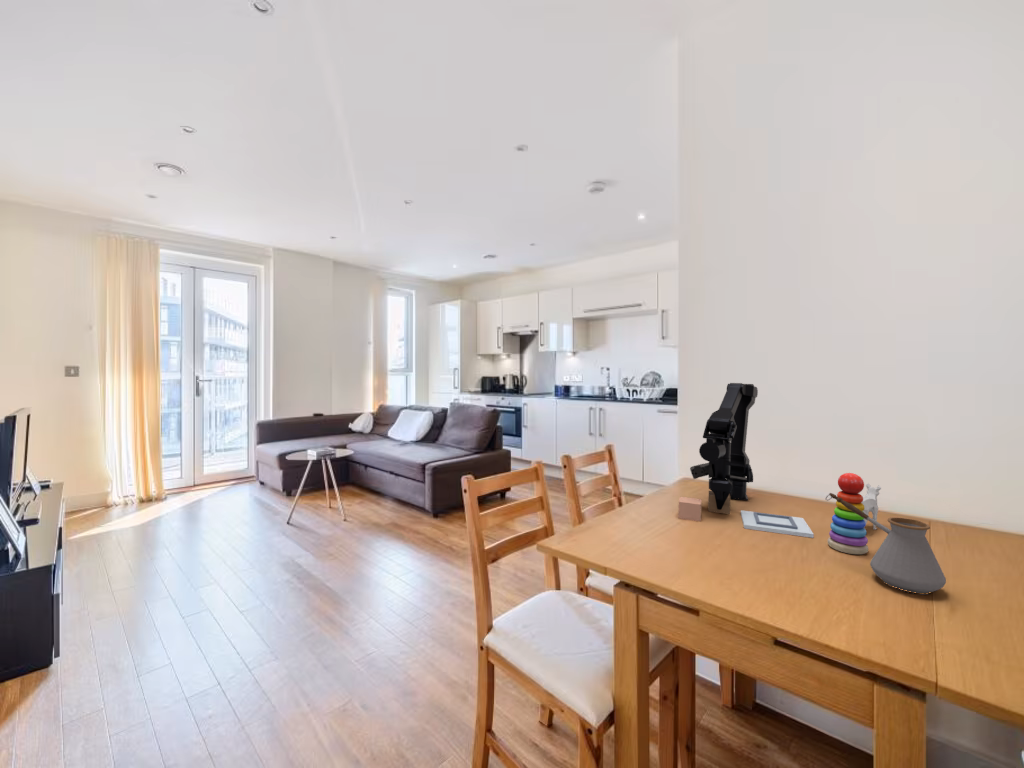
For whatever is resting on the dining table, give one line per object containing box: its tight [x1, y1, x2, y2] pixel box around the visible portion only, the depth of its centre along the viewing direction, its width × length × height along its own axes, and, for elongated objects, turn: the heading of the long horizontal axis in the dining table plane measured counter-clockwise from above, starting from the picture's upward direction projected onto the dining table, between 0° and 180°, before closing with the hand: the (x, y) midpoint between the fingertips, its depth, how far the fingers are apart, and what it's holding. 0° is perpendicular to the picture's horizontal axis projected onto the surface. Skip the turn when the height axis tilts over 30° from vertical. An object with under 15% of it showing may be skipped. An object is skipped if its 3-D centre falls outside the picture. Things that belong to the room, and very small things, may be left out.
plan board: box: [740, 510, 815, 539], centre depth 124 cm, size 14×16×2 cm
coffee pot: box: [825, 492, 947, 593], centre depth 93 cm, size 21×12×15 cm, turn 23°
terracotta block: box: [677, 496, 702, 522], centre depth 130 cm, size 6×6×5 cm
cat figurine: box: [861, 482, 882, 531], centre depth 120 cm, size 4×20×14 cm, turn 124°
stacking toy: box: [827, 472, 869, 555], centre depth 107 cm, size 8×8×19 cm
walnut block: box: [707, 490, 731, 515], centre depth 137 cm, size 6×6×5 cm
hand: (718, 506), depth 137 cm, fingers closed on walnut block, 6 cm apart
